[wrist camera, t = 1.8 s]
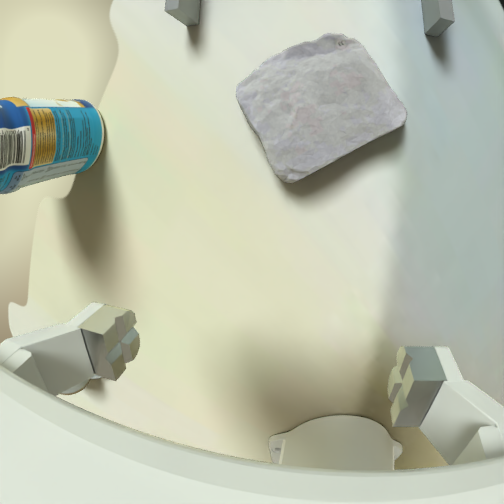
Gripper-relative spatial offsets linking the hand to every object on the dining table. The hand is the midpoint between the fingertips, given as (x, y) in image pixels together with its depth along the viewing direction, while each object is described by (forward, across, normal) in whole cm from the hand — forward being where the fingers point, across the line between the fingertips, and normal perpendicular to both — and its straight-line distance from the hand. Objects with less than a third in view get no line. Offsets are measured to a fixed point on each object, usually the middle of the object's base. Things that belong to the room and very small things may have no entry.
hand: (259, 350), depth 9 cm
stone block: (+20, -1, -9) cm, 22 cm away
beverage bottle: (+20, +24, -7) cm, 32 cm away
